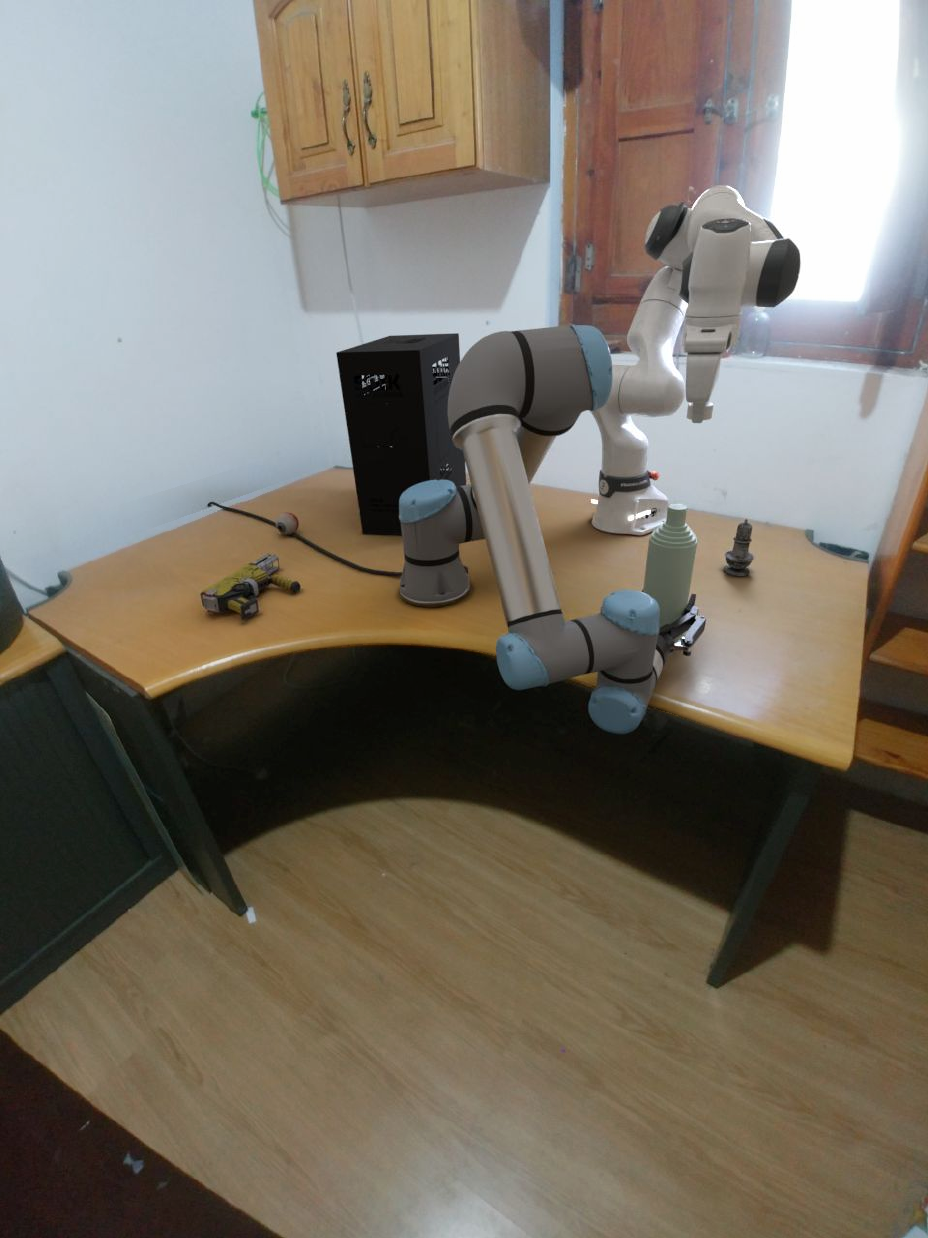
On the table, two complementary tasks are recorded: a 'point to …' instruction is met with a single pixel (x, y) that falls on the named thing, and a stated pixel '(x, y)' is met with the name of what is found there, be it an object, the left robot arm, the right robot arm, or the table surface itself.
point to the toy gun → (245, 588)
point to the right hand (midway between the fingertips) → (698, 418)
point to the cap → (707, 411)
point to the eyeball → (287, 523)
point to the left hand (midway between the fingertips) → (669, 596)
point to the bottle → (671, 565)
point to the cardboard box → (399, 421)
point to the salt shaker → (740, 551)
